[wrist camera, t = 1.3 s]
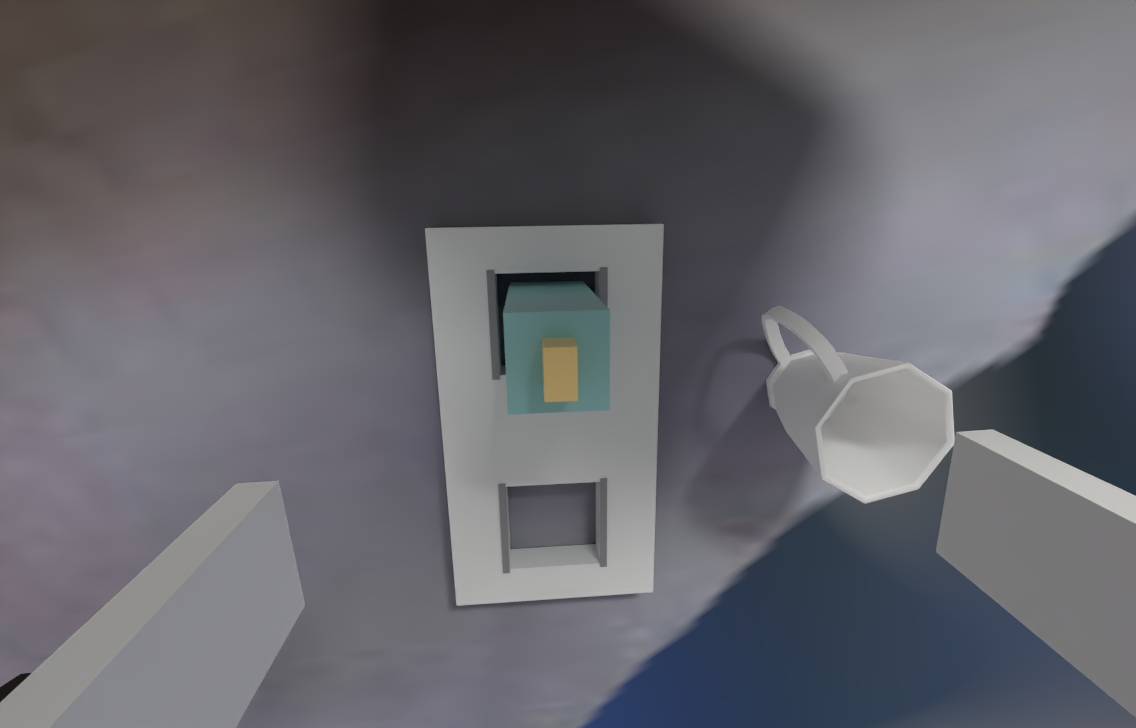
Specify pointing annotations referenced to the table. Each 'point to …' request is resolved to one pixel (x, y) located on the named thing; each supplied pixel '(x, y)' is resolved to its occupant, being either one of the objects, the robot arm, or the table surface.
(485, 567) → the panel
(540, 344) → the plug
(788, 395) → the cup
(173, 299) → the table surface
